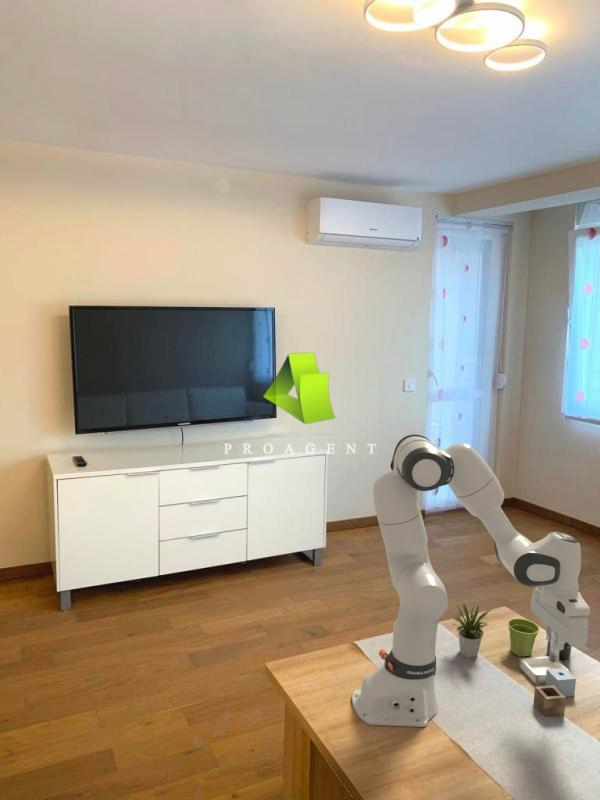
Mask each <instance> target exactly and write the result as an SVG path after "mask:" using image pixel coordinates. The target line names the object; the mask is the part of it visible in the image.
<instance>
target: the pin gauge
mask: <svg viewBox="0 0 600 800" xmlns="http://www.w3.org/2000/svg"><path fill="white" fill-rule="evenodd" d="M557 635H558V634H557V633H556V632H554V631H553V630H552V629H551V639H550V651H549V655H548V656H549V660H550V661H551V662H554V663H557V662H560V661H559V651H560V650H557V649H556V648H555V647H554V645H555V641H558V639H559V638H558V637H557Z"/></svg>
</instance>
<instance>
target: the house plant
mask: <svg viewBox="0 0 600 800" xmlns="http://www.w3.org/2000/svg"><path fill="white" fill-rule="evenodd" d="M449 601H450V602H452V603H453V604H454V605H455V607H456V608H457V610H458V611H457V610H455V611H451V613H453V614H455V613H456V616H454V617H453V620H455V621H456V622H459V624H461V625H458V626H457V624H455V623H453V625H455V626H457V627H456V632H457V633H458V643H459V653H460V652H461V653H460V654H461V655H462V654H463V655H462V656H464V655H465V656H464V657H466V656H468V657H467V658H476V657H478V654H479V650H480V645H481V642H482V639H483V636H484V635H485V633H484V631H483V630H482V629H483V628H484V627H487V626H488V625H489V623H487V622H484V621H483V622H482V621H481V620H482V619H488V616H487V615H488V613H490V612H492V611H493V610H494V608H490V609H488V610H485V611H484V612H483V613H482V614H481V615H480V616H478V614H479V611H480V608H479V607H480V604H479V603H478V605H477V606H476V609H475V611H474V612H473V610H474V607H475V605H476V604H477V602H475V603H474V604H473V606H472V609H471V612H470V614H469V611H468V609H467V605H466V604H465V602H464V601H463V600H461V601H460V603H461V605H462V607H463V611H464V613H465V617H466V618H465V617H464V614H463V612H462V610H461V609H460V607H459V605H458V604H457V603H456V602H455V601H453V600H450V599H449ZM477 616H478V618H477ZM485 616H486V617H485ZM462 619H463V620H462ZM476 619H477V620H476ZM475 656H476V657H475Z"/></svg>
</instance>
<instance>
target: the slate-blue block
mask: <svg viewBox="0 0 600 800" xmlns="http://www.w3.org/2000/svg"><path fill="white" fill-rule="evenodd" d="M576 684H577V678H576V677H575V676H574V675H572V673H571V674H570V673H569V672H568V671H567V670H566V669H565V668H555V669H547V670H546V681H545V683H544V686H550V685H554V686H555V687H556V688H557V689H558V690H559V691H560V692H561V693H562V694H563V695H564V696H565V697H575V692H576Z"/></svg>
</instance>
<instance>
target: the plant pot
mask: <svg viewBox="0 0 600 800" xmlns="http://www.w3.org/2000/svg"><path fill="white" fill-rule="evenodd" d="M507 626H508V629H509V642H510V651H511V652H512V653H513V654H514V655H516V656H519V657H523V658H525V657H526V656H527V657H531V655H532V653H533V649H534V645H535V641H536V637H537V636H538V633H540V627H539V625H538V624H537V623H535V622H534V621H531V620H529V619H525V618H511V619H509V620H508V621H507Z"/></svg>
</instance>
